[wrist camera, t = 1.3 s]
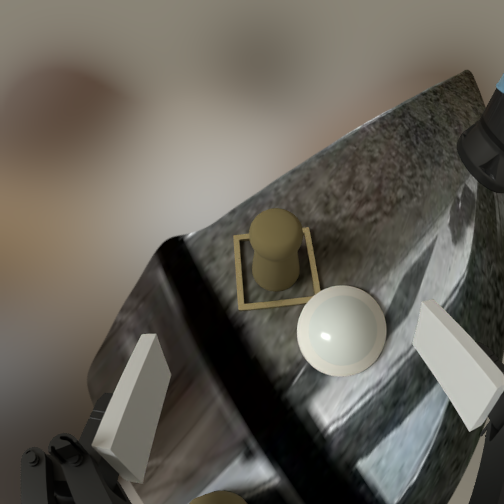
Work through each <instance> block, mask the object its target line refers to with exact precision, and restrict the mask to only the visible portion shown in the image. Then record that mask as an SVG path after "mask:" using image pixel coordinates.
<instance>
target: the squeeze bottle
mask: <svg viewBox="0 0 504 504" xmlns="http://www.w3.org/2000/svg"><path fill="white" fill-rule="evenodd" d="M189 504H247V503H246V502H245V500H244V499H243V498H242V497H240V496H239V495H237V494H235V493H232V492H228V491H214V492H211V493H208V494H205V495H203V496H200V497H197V498H195V499H193V500H192V501H191V502H190V503H189Z"/></svg>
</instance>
